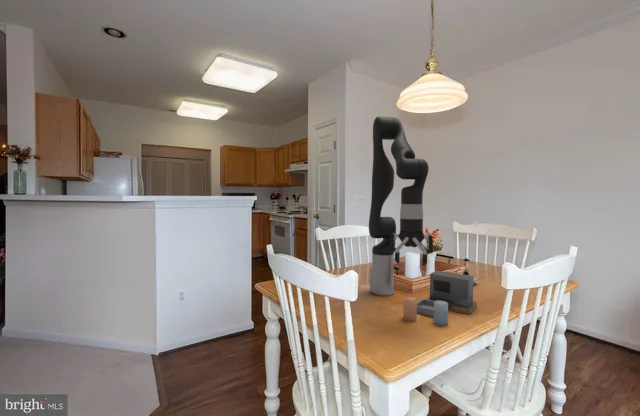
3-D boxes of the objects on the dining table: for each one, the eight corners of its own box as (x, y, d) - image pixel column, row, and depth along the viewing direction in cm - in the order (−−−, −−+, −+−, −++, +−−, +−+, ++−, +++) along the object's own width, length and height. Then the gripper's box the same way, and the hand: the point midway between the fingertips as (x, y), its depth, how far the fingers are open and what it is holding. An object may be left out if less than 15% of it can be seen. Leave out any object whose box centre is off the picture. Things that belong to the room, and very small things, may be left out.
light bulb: (477, 257, 152) (454, 255, 155) (479, 261, 142) (455, 259, 146) (476, 281, 152) (454, 279, 156) (478, 287, 143) (454, 284, 147)
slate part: (431, 323, 103) (432, 303, 103) (436, 319, 106) (436, 299, 106) (445, 327, 100) (445, 306, 100) (449, 322, 103) (449, 302, 103)
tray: (412, 311, 113) (412, 305, 113) (422, 304, 120) (422, 298, 120) (438, 318, 107) (438, 311, 107) (447, 310, 114) (447, 304, 114)
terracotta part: (401, 318, 107) (401, 299, 106) (406, 315, 110) (406, 295, 110) (413, 322, 104) (413, 301, 104) (418, 318, 107) (418, 298, 107)
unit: (425, 304, 121) (426, 274, 120) (434, 297, 128) (435, 269, 128) (469, 314, 110) (470, 281, 110) (476, 306, 118) (477, 276, 117)
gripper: (388, 217, 105) (388, 264, 105) (433, 218, 99) (432, 268, 100) (392, 216, 112) (391, 260, 112) (433, 217, 106) (433, 263, 107)
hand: (410, 264), depth 106 cm, fingers open, 8 cm apart
